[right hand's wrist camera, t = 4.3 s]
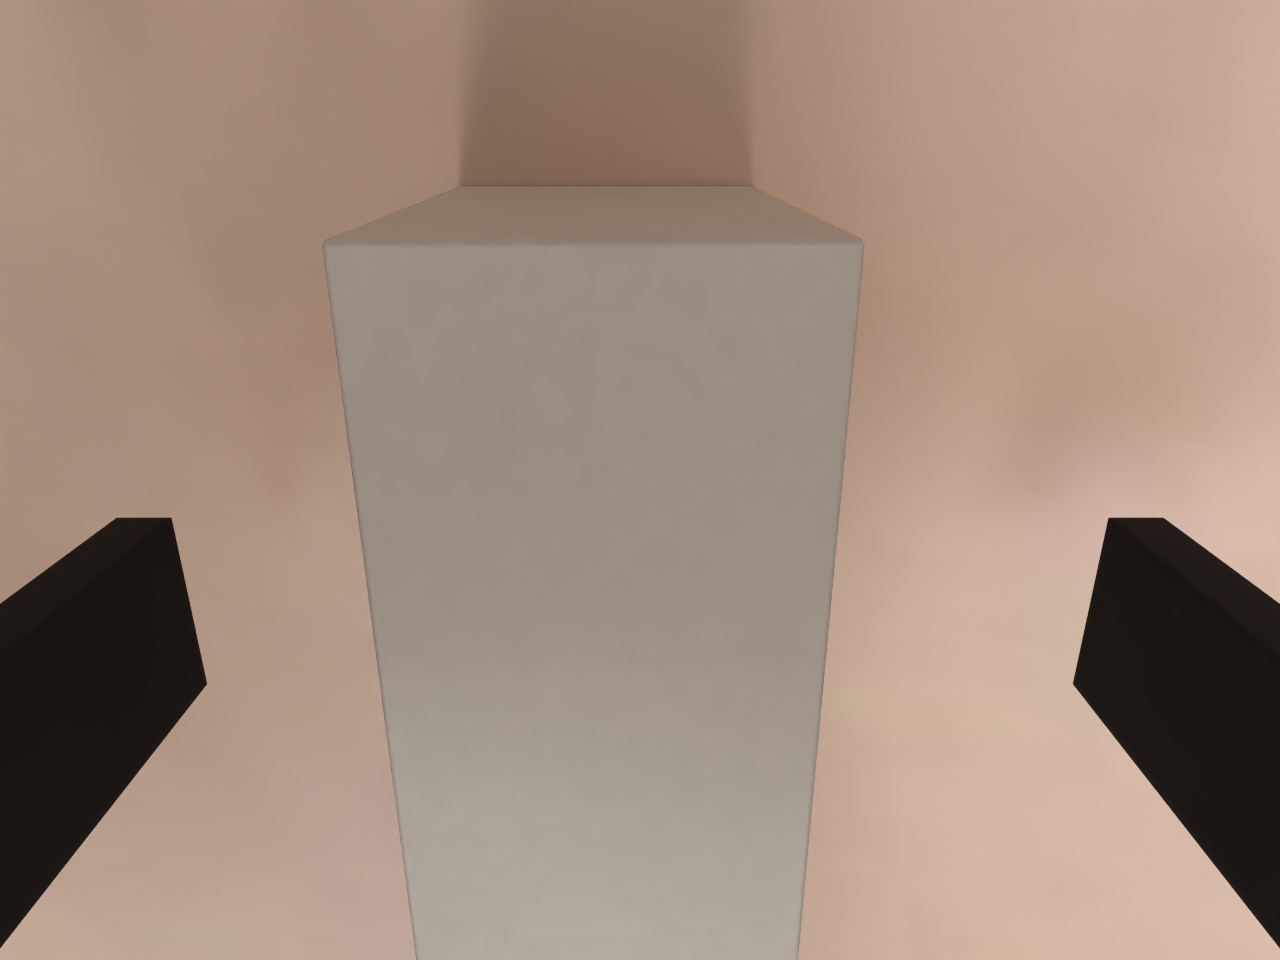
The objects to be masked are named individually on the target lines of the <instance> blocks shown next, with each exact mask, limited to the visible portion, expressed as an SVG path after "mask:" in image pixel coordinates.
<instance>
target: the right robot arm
mask: <svg viewBox="0 0 1280 960" xmlns="http://www.w3.org/2000/svg"><path fill="white" fill-rule="evenodd" d="M206 685H207V681H206V677H205V672H204V667H203V663H202V658H201V653H200V649H199V644H198V639H197V635H196V630H195V625H194V621H193V616H192V611H191V607H190V602H189V597H188V593H187V588H186V583H185V579H184V574H183V569H182V565H181V560H180V555H179V551H178V546H177V541H176V537H175V532H174V527H173V523H172V518H116V519H114V520H113V521H112V522H110V523H109V524H108V525H106V526H105V527H104V528H102V529H101V530H100V531H98V532H97V533H95V534H94V535H93V536H91V537H90V538H89V539H87V540H86V541H85V542H83V543H82V544H81V545H79V546H78V547H76V548H75V549H74V550H72V551H71V552H70V553H68V554H67V555H66V556H64V557H63V558H62V559H60V560H59V561H58V562H56V563H55V564H53V565H52V566H51V567H49V568H48V569H47V570H45V571H44V572H43V573H41V574H40V575H39V576H37V577H36V578H35V579H33V580H32V581H30V582H29V583H28V584H26V585H25V586H24V587H22V588H21V589H20V590H18V591H17V592H16V593H14V594H13V595H12V596H10V597H9V598H7V599H6V600H5V601H3V602H2V603H1V604H0V948H1V947H2V945H3V944H4V943H5V941H6V940H7V939H8V938H9V936H10V935H11V934H12V932H13V931H14V930H15V929H16V927H17V926H18V925H19V924H20V922H21V921H22V920H23V918H24V917H25V916H26V915H27V913H28V912H29V911H30V909H31V908H32V907H33V906H34V904H35V903H36V902H37V901H38V899H39V898H40V897H41V895H42V894H43V893H44V892H45V890H46V889H47V888H48V887H49V885H50V884H51V883H52V881H53V880H54V879H55V878H56V876H57V875H58V874H59V872H60V871H61V870H62V869H63V867H64V866H65V865H66V864H67V862H68V861H69V860H70V858H71V857H72V856H73V855H74V853H75V852H76V851H77V849H78V848H79V847H80V846H81V844H82V843H83V842H84V841H85V839H86V838H87V837H88V835H89V834H90V833H91V832H92V830H93V829H94V828H95V826H96V825H97V824H98V823H99V821H100V820H101V819H102V818H103V816H104V815H105V814H106V812H107V811H108V810H109V809H110V807H111V806H112V805H113V803H114V802H115V801H116V800H117V798H118V797H119V796H120V795H121V793H122V792H123V791H124V789H125V788H126V787H127V786H128V784H129V783H130V782H131V781H132V779H133V778H134V777H135V775H136V774H137V773H138V772H139V770H140V769H141V768H142V766H143V765H144V764H145V763H146V761H147V760H148V759H149V758H150V756H151V755H152V754H153V752H154V751H155V750H156V749H157V747H158V746H159V745H160V743H161V742H162V741H163V740H164V738H165V737H166V736H167V735H168V733H169V732H170V731H171V729H172V728H173V727H174V726H175V724H176V723H177V722H178V720H179V719H180V718H181V717H182V715H183V714H184V713H185V712H186V710H187V709H188V708H189V706H190V705H191V704H192V703H193V701H194V700H195V699H196V697H197V696H198V695H199V694H200V692H201V691H202V690H203V689H204V687H205V686H206ZM1073 685H1074V686H1075V687H1076V689H1077V690H1078V691H1079V692H1080V694H1081V695H1082V696H1083V697H1084V699H1085V700H1086V701H1087V703H1088V704H1089V705H1090V706H1091V708H1092V709H1093V710H1094V712H1095V713H1096V714H1097V715H1098V717H1099V718H1100V719H1101V720H1102V722H1103V723H1104V724H1105V726H1106V727H1107V728H1108V729H1109V731H1110V732H1111V733H1112V735H1113V736H1114V737H1115V738H1116V740H1117V741H1118V742H1119V743H1120V745H1121V746H1122V747H1123V749H1124V750H1125V751H1126V752H1127V754H1128V755H1129V756H1130V758H1131V759H1132V760H1133V761H1134V763H1135V764H1136V765H1137V766H1138V768H1139V769H1140V770H1141V772H1142V773H1143V774H1144V775H1145V777H1146V778H1147V779H1148V781H1149V782H1150V783H1151V784H1152V786H1153V787H1154V788H1155V789H1156V791H1157V792H1158V793H1159V795H1160V796H1161V797H1162V798H1163V800H1164V801H1165V802H1166V803H1167V805H1168V806H1169V807H1170V809H1171V810H1172V811H1173V812H1174V814H1175V815H1176V816H1177V818H1178V819H1179V820H1180V821H1181V823H1182V824H1183V825H1184V826H1185V828H1186V829H1187V830H1188V832H1189V833H1190V834H1191V835H1192V837H1193V838H1194V839H1195V841H1196V842H1197V843H1198V844H1199V846H1200V847H1201V848H1202V849H1203V851H1204V852H1205V853H1206V855H1207V856H1208V857H1209V858H1210V860H1211V861H1212V862H1213V864H1214V865H1215V866H1216V867H1217V869H1218V870H1219V871H1220V872H1221V874H1222V875H1223V876H1224V878H1225V879H1226V880H1227V881H1228V883H1229V884H1230V885H1231V887H1232V888H1233V889H1234V890H1235V892H1236V893H1237V894H1238V895H1239V897H1240V898H1241V899H1242V901H1243V902H1244V903H1245V904H1246V906H1247V907H1248V908H1249V909H1250V911H1251V912H1252V913H1253V915H1254V916H1255V917H1256V918H1257V920H1258V921H1259V922H1260V924H1261V925H1262V926H1263V927H1264V929H1265V930H1266V931H1267V932H1268V934H1269V935H1270V936H1271V938H1272V939H1273V940H1274V941H1275V943H1276V944H1277V945H1278V947H1279V948H1280V604H1279V603H1278V602H1277V601H1275V600H1274V599H1273V598H1271V597H1270V596H1268V595H1267V594H1266V593H1264V592H1263V591H1262V590H1260V589H1259V588H1258V587H1256V586H1255V585H1254V584H1252V583H1251V582H1250V581H1248V580H1247V579H1245V578H1244V577H1243V576H1241V575H1240V574H1239V573H1237V572H1236V571H1235V570H1233V569H1232V568H1231V567H1229V566H1228V565H1227V564H1225V563H1224V562H1222V561H1221V560H1220V559H1218V558H1217V557H1216V556H1214V555H1213V554H1212V553H1210V552H1209V551H1208V550H1206V549H1205V548H1204V547H1202V546H1201V545H1199V544H1198V543H1197V542H1195V541H1194V540H1193V539H1191V538H1190V537H1189V536H1187V535H1186V534H1185V533H1183V532H1182V531H1180V530H1179V529H1178V528H1176V527H1175V526H1174V525H1172V524H1171V523H1170V522H1168V521H1167V520H1166V519H1164V518H1108V523H1107V527H1106V532H1105V537H1104V541H1103V546H1102V551H1101V555H1100V560H1099V565H1098V569H1097V574H1096V579H1095V583H1094V588H1093V593H1092V597H1091V602H1090V607H1089V611H1088V616H1087V621H1086V625H1085V630H1084V635H1083V639H1082V644H1081V649H1080V653H1079V658H1078V663H1077V667H1076V672H1075V677H1074V681H1073Z"/></svg>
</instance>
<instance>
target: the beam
mask: <svg viewBox="0 0 1280 960" xmlns="http://www.w3.org/2000/svg"><path fill="white" fill-rule="evenodd" d="M863 253H864V243H863V240H862V239H860V238H858V237H856V236H854V235H852V234H850V233H848V232H845V231H843V230H841V229H839V228H837V227H835V226H833V225H831V224H829V223H827V222H825V221H823V220H820V219H818V218H816V217H814V216H812V215H810V214H808V213H806V212H804V211H802V210H800V209H798V208H795V207H793V206H791V205H789V204H787V203H785V202H783V201H781V200H779V199H777V198H775V197H773V196H771V195H768V194H766V193H764V192H762V191H760V190H758V189H756V188H754V187H752V186H461V187H458V188H456V189H453V190H451V191H448V192H446V193H443V194H441V195H438V196H436V197H433V198H431V199H428V200H426V201H423V202H421V203H418V204H416V205H413V206H410V207H408V208H405V209H403V210H400V211H398V212H395V213H393V214H390V215H388V216H385V217H383V218H380V219H378V220H375V221H373V222H370V223H367V224H365V225H362V226H360V227H357V228H355V229H352V230H350V231H347V232H345V233H342V234H340V235H337V236H335V237H332V238H330V239H327V240H325V241H324V243H323V254H324V262H325V269H326V277H327V285H328V292H329V300H330V307H331V315H332V323H333V330H334V338H335V345H336V353H337V361H338V368H339V376H340V383H341V391H342V398H343V406H344V414H345V421H346V429H347V436H348V444H349V452H350V459H351V467H352V474H353V482H354V490H355V497H356V505H357V512H358V520H359V528H360V535H361V543H362V550H363V558H364V565H365V573H366V581H367V588H368V596H369V603H370V611H371V619H372V626H373V634H374V641H375V649H376V657H377V664H378V672H379V679H380V687H381V694H382V702H383V710H384V717H385V725H386V732H387V740H388V748H389V755H390V763H391V770H392V778H393V786H394V793H395V801H396V808H397V816H398V824H399V831H400V839H401V846H402V854H403V861H404V869H405V877H406V884H407V892H408V899H409V907H410V915H411V922H412V930H413V937H414V945H415V953H416V960H798V950H799V940H800V929H801V918H802V907H803V897H804V886H805V875H806V865H807V854H808V843H809V832H810V822H811V811H812V800H813V789H814V779H815V768H816V757H817V746H818V736H819V725H820V714H821V704H822V693H823V682H824V671H825V661H826V650H827V639H828V628H829V618H830V607H831V596H832V585H833V575H834V564H835V553H836V543H837V532H838V521H839V510H840V500H841V489H842V478H843V467H844V457H845V446H846V435H847V425H848V414H849V403H850V392H851V382H852V371H853V360H854V349H855V339H856V328H857V317H858V306H859V296H860V285H861V274H862V264H863Z"/></svg>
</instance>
